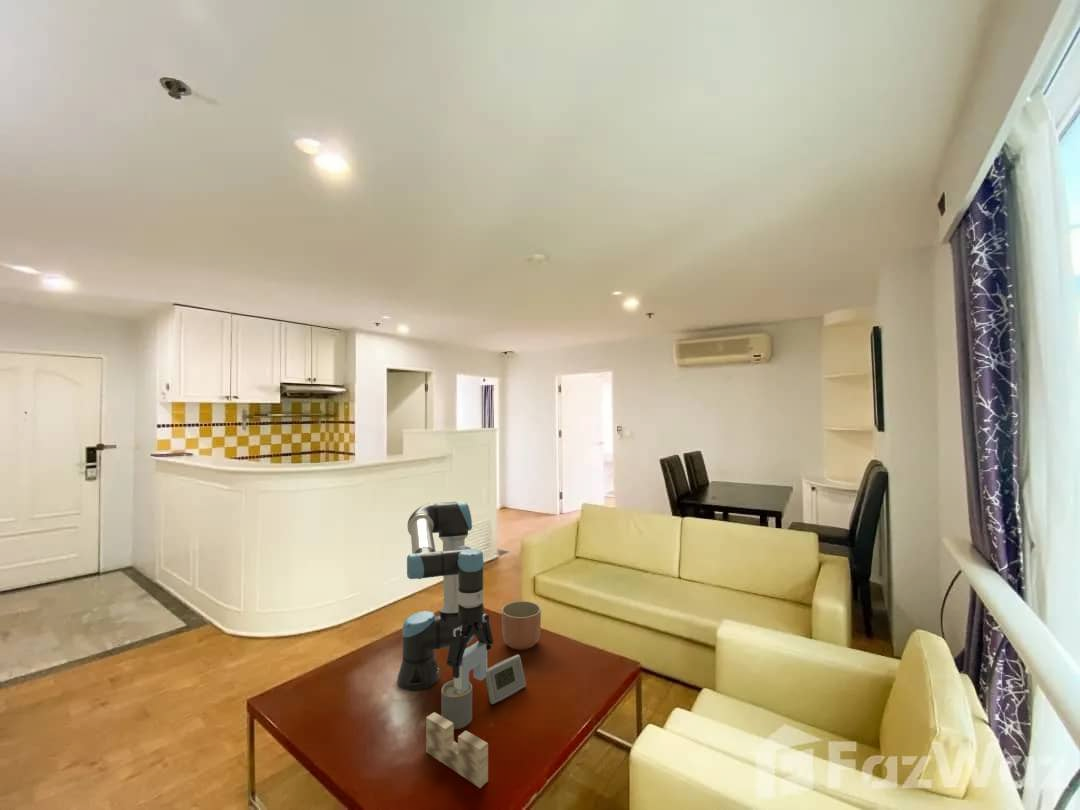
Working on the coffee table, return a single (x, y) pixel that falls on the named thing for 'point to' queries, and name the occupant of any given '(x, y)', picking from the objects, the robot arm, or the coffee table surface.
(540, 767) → the coffee table surface
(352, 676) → the coffee table surface
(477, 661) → the bridge plate
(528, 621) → the planter
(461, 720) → the coffee mug
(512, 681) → the digital clock
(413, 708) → the coffee table surface
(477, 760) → the maple rail
